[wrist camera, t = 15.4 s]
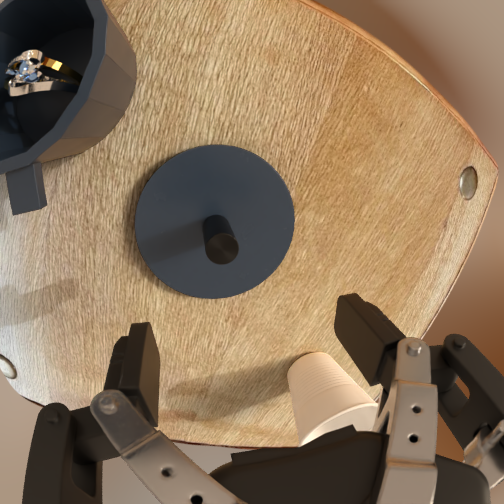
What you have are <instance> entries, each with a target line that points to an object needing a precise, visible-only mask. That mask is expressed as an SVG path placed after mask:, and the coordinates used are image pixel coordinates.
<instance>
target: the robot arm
mask: <svg viewBox="0 0 504 504" xmlns="http://www.w3.org/2000/svg"><path fill="white" fill-rule="evenodd" d="M334 330H335V334H336V336H337V338H338V339H339V341H340V342H341V344H342V345H343V347H344V348H345V350H346V351H347V352H348V354H349V355H350V357H351V358H352V360H353V361H354V363H355V364H356V366H357V367H358V369H359V370H360V371H361V373H362V374H363V376H364V377H365V379H366V380H367V382H368V383H369V385H370V386H374V385H377V384H379V383H381V385H382V386H383V387H382V389H381V392H380V398H379V403H378V408H377V413H376V418H375V423H374V426H373V429H372V431H356V429H355V427H354V426H353V424H351V425H348V426H346V427H343V428H340V429H336V430H333V431H330V432H327V433H324V434H323V435H321V436H319V437H317V438H315V439H314V440H312V441H310V442H308V443H306V444H304V445H302V446H300V447H298V448H262V449H257V450H251V451H245V452H239V453H232V454H231V458H232V461H231V462H229V463H226V464H224V465H222V466H220V467H218V468H217V469H215V470H214V471H212V472H211V473H210V474H207V473H206V472H205V471H203V470H202V469H201V468H200V467H199V466H198V465H196V464H195V463H194V462H193V461H192V460H191V459H190V458H189V457H187V456H186V455H185V454H184V453H183V452H182V451H181V450H180V449H179V448H178V447H177V446H176V445H175V444H174V443H173V442H172V441H171V440H170V439H169V438H168V437H167V436H166V435H165V434H164V433H162V432H161V431H160V430H158V431H157V430H156V429H155V428H154V427H158V401H159V377H160V356H159V351H158V347H157V344H156V341H155V337H154V334H153V330H152V327H151V324H150V322H144V323H132V324H131V327H130V331H129V336H121V337H120V339H119V340H118V341H117V342H116V344H115V345H114V349H113V352H112V356H111V360H110V364H109V368H108V372H107V377H106V381H105V385H104V390H103V391H102V392H100V393H99V394H97V395H96V396H95V397H94V398H93V400H92V402H91V405H90V406H87V407H84V408H80V409H76V410H72V411H69V409H68V408H67V407H66V406H65V405H64V404H61V403H51V404H48V405H46V406H45V407H43V408H42V409H41V411H40V412H39V414H38V418H37V421H36V425H35V430H34V434H33V438H32V442H31V447H30V452H29V457H28V463H27V469H26V475H25V482H24V490H23V499H22V504H102V463H103V462H102V461H103V460H107V459H111V458H115V457H119V456H121V457H122V459H123V460H124V461H125V462H126V463H127V465H128V466H129V468H130V469H131V470H132V471H133V472H134V474H135V475H136V476H137V477H138V478H139V480H140V481H141V482H142V483H143V484H144V485H145V486H146V488H147V489H148V490H149V491H150V492H151V493H152V494H153V495H154V496H155V497H156V498H157V499H158V501H159V502H160V503H161V504H491V501H490V489H492V488H493V487H494V486H496V485H497V484H499V483H500V482H502V481H503V480H504V377H503V376H502V374H501V373H500V372H499V371H498V370H497V369H496V368H495V367H494V366H493V365H492V364H491V363H490V361H489V360H488V359H487V358H486V357H485V356H484V355H483V354H482V353H481V352H480V351H479V350H478V349H477V348H476V347H475V346H474V345H473V344H472V343H471V342H470V341H469V340H468V339H467V338H466V337H464V336H462V335H459V334H450V335H448V336H447V337H446V338H445V340H444V342H443V345H437V346H428V345H427V344H426V343H425V342H424V341H422V340H421V339H418V338H414V337H406V336H405V335H404V334H403V333H402V332H401V331H400V330H399V329H398V328H397V327H396V326H395V325H394V324H393V323H392V322H391V321H390V320H389V319H388V318H387V316H386V315H383V312H382V311H381V310H380V309H379V308H378V307H377V306H375V305H373V304H371V303H369V302H365V301H364V300H363V299H362V298H361V297H360V296H359V295H358V294H357V293H352V294H347V295H342V296H339V298H338V301H337V308H336V315H335V322H334ZM458 376H459V377H460V379H461V380H462V381H463V382H464V383H465V385H466V386H467V387H468V389H469V391H470V397H469V399H467V397H466V396H465V395H464V393H463V392H462V391H461V390H460V389H459V387H458V386H457V384H456V383H455V381H456V380H457V378H458ZM437 412H439V414H440V415H441V417H442V418H443V420H444V421H445V423H446V424H447V426H448V427H449V429H450V430H451V432H452V433H453V435H454V436H455V438H456V439H457V441H458V442H459V444H460V446H461V447H462V449H463V450H464V460H463V462H459V461H455V460H452V459H449V458H446V457H443V456H440V455H437V454H435V451H436V438H437V414H438V413H437Z"/></svg>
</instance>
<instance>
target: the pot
mask: <svg viewBox="0 0 504 504" xmlns="http://www.w3.org/2000/svg"><path fill="white" fill-rule="evenodd" d="M28 50H38V51H40V52H42V53H43V55H44V57H47V58H50V59H53V60H55V61H58V62H60V63H62V64H64V65H66V66H68V67H70V68H71V69H73V70H75V71H76V72H78V73H79V74H80V75H82V76H83V78H82V81H81V83H80V86H79V89H78V92H77V94H75V93H71V92H68V91H60V90H44V91H37V92H31V93H27V94H23V95H18V96H10V95H9V94H8V90H7V89H5V88H4V87H3V84H4V81H5V78H6V77H11V75H10V74H5V69H7V68H8V65H9V63H10V61H11V60H12V59H13V58H15V57H16V56H18V55H19V54H21V53H23V52H25V51H28ZM32 62H33V63H35V64H36V65H37V62H36V61H34V60H32ZM17 68H18V69H20V66H18V67H17ZM40 72H41V73H43V74H44V75H46V77H51V78H55V79H59V80H60V79H62V80H65V81H67V82H70V83H75V82H73V81H72V80H71V79H69V78H67V77H65V76H63V75H61V74H59V73H56V72H53V71H50V70H45V69H41V70H40ZM136 76H137V66H136V56H135V53H134V51H133V49H132V46H131V44H130V43H129V41H128V39H127V36H126V34H125V33H124V31H123V30H122V28H121V27H120V25H119V24H118V22H117V21H116V19H115V17H114V16H113V14H112V13H111V11H110V10H109V8H108V7H107V5H106V4H105V2H104V1H103V0H4V1H3V2H2V3H1V4H0V175H1V174H4V173H6V180H7V186H8V193H9V198H10V204H11V209H12V214H13V215H18V214H22V213H26V212H30V211H35V210H39V209H42V208H43V207H45V206H47V200H46V194H45V188H44V182H43V174H42V167H41V163H43V162H47V161H51V160H55V159H59V158H63V157H67V156H72V155H76V154H80V153H83V152H84V151H86V150H87V149H89V148H91V147H92V146H94V145H96V144H97V143H98V142H100V141H101V140H102V139H103V138H105V137H106V136H107V135H108V134H109V133H110V132H111V131H112V129H113V128H114V127H115V126H116V125H117V124H118V122H119V121H120V119H121V118H122V116H123V115H124V113H125V111H126V109H127V108H128V105H129V103H130V101H131V98H132V95H133V92H134V89H135V84H136ZM27 84H30V83H21V84H20V83H19V84H18V86H23V85H27Z"/></svg>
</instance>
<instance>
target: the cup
mask: <svg viewBox="0 0 504 504" xmlns="http://www.w3.org/2000/svg"><path fill="white" fill-rule="evenodd" d="M287 378H288V384H289V389H290V394H291V399H292V405H293V410H294V415H295V421H296V427H297V432H298V438H299V445H298V447H300V446H302V445H304V444H306V443H308V442H310V441H312V440H314V439H315V438H317V437H319V436H321V435H323V434H324V433H327V432H330V431H333V430H336V429H340V428H343V427H346V426H348V425H351V424H353V426H354V427H355V429H356V431H372V429H373V426H374V423H375V418H376V413H377V408H378V403H375V401H374V400H373V399H372V398H371V397H370V396H369V395H368V394H367V393H366V392H365V391H364V390H363V389H362V388H361V387H359V386H358V384H356V382H354V380H353V379H352V378H351V377H350V376H349V375H348V374H347V373H346V372H345V371H344V370H343V369H342V368H341V367H340V366H339V365H338V364H337V363H336V362H335V361H334V360H333V359H332V358H331V357H330V356H329V355H328V354H326V353H323V352H314V353H309V354H306V355H304V356H302V357H300V358H299V359H298V360H296V361H295V362H294V363H293V364H292V366H291V367H290V369H289V370H288V373H287Z"/></svg>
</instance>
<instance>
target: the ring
mask: <svg viewBox="0 0 504 504" xmlns="http://www.w3.org/2000/svg"><path fill="white" fill-rule="evenodd" d="M32 60H34V61H36V62H37V65H36V64H35V63H33V62H32ZM18 66H20V69H18V68H17V67H18ZM41 69H45V70H50V71H53V72H56V73H59V74H61V75H63V76H65V77H67V78H69V79H71V80H72V81H73V82H75V83H70V82H67V81H65V80H62V79H60V80H59V79H55V78H51V77H46V75H44V74H43V73H41V72H40V70H41ZM5 74H10V75H11V77H6V78H5V81H4V84H3V87H4V88H5V89H7V90H8V94H9V95H10V96H18V95H23V94H27V93H31V92H37V91H44V90H60V91H68V92H71V93H75V94H77V92H78V89H79V86H80V83H81V81H82V78H83V76H82V75H80V74H79V73H78V72H76V71H75V70H73V69H71V68H70V67H68V66H66V65H64V64H62V63H60V62H58V61H55V60H53V59H50V58H47V57H44V55H43V53H42V52H40V51H38V50H28V51H25V52H23V53H21V54H19V55H18V56H16V57H15V58H13V59H12V60H11V61H10V63H9V65H8V68H7V69H5ZM19 83H20V84H21V83H30V84H27V85H23V86H18V84H19Z"/></svg>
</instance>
